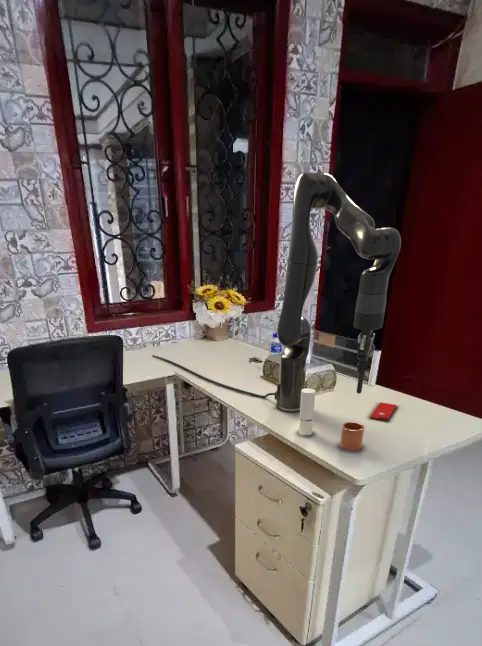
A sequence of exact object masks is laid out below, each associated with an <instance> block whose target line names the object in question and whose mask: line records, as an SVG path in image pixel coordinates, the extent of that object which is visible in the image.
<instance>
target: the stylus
mask: <svg viewBox="0 0 482 646" xmlns="http://www.w3.org/2000/svg"><path fill="white" fill-rule="evenodd" d="M363 355H364V354H363ZM364 376H365V372H364V373H361V372H358V378H357V384H356V385H357V386H356V393H357V394H358V395H359V394H362V391H363V385H364V384H363V383H364V379H365V377H364Z"/></svg>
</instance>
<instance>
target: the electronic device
mask: <svg viewBox="0 0 482 646" xmlns="http://www.w3.org/2000/svg"><path fill="white" fill-rule="evenodd" d="M397 406H398V405H397V404H393V403H387V402H379V404H378V405H377V406H376V408H375V409H374V410H373V411H372V413H371V414H370V416H369V418H370V419H374V420H380V421H385V422H387V421H388V420H389V419H390V417H391V416H392V414H393V413H394V411H395V409H396V408H397Z"/></svg>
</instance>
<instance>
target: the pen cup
mask: <svg viewBox="0 0 482 646" xmlns="http://www.w3.org/2000/svg"><path fill="white" fill-rule="evenodd" d="M364 433H365V426H364V424H362V423H360V422H356V421H346V422H344V423H342V425H341V431H340V440H339V441H340V442H339V446H340V447H341V448H342V449H344V450H347V451H359V450H361V449H362V447H363V442H364V441H363V440H364Z"/></svg>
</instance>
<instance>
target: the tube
mask: <svg viewBox="0 0 482 646" xmlns="http://www.w3.org/2000/svg"><path fill="white" fill-rule="evenodd" d="M315 401H316V389H314V388H310V387H309V388H307V387H306V388H305V387H304V389H302V390H301V405H300V410H299V420H298V421H299V422H298V423H299V424H298V434H299V435H302V436H310V435H312V434H313V427H314V415H315V414H314V413H315Z"/></svg>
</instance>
